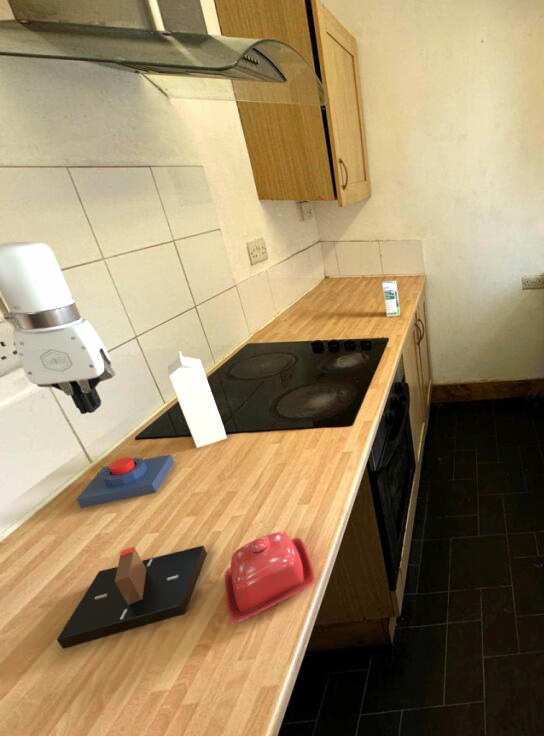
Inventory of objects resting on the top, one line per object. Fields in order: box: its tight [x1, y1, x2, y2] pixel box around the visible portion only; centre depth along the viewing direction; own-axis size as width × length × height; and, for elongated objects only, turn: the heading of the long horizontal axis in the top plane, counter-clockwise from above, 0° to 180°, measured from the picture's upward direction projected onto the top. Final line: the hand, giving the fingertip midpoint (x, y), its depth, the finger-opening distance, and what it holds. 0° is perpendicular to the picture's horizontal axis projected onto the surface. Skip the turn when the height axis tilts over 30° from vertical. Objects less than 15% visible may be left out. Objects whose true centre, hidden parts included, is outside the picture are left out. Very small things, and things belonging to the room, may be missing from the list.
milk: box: [167, 350, 227, 449], centre depth 96 cm, size 6×6×22 cm
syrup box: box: [381, 280, 401, 318], centre depth 180 cm, size 6×6×14 cm
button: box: [108, 456, 135, 475], centre depth 84 cm, size 4×4×2 cm
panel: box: [56, 545, 208, 650], centre depth 62 cm, size 14×11×2 cm
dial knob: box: [115, 546, 146, 605], centre depth 61 cm, size 6×2×5 cm, turn 34°
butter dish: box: [224, 531, 317, 624], centre depth 63 cm, size 12×12×8 cm
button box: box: [75, 454, 175, 509], centre depth 85 cm, size 12×10×4 cm
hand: (91, 409), depth 78 cm, fingers closed
